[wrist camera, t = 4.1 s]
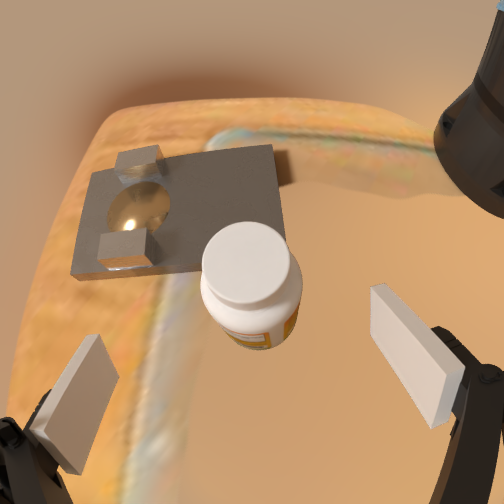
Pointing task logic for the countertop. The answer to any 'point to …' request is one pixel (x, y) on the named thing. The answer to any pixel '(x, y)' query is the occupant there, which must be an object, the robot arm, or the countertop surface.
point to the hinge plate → (171, 209)
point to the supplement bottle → (251, 284)
